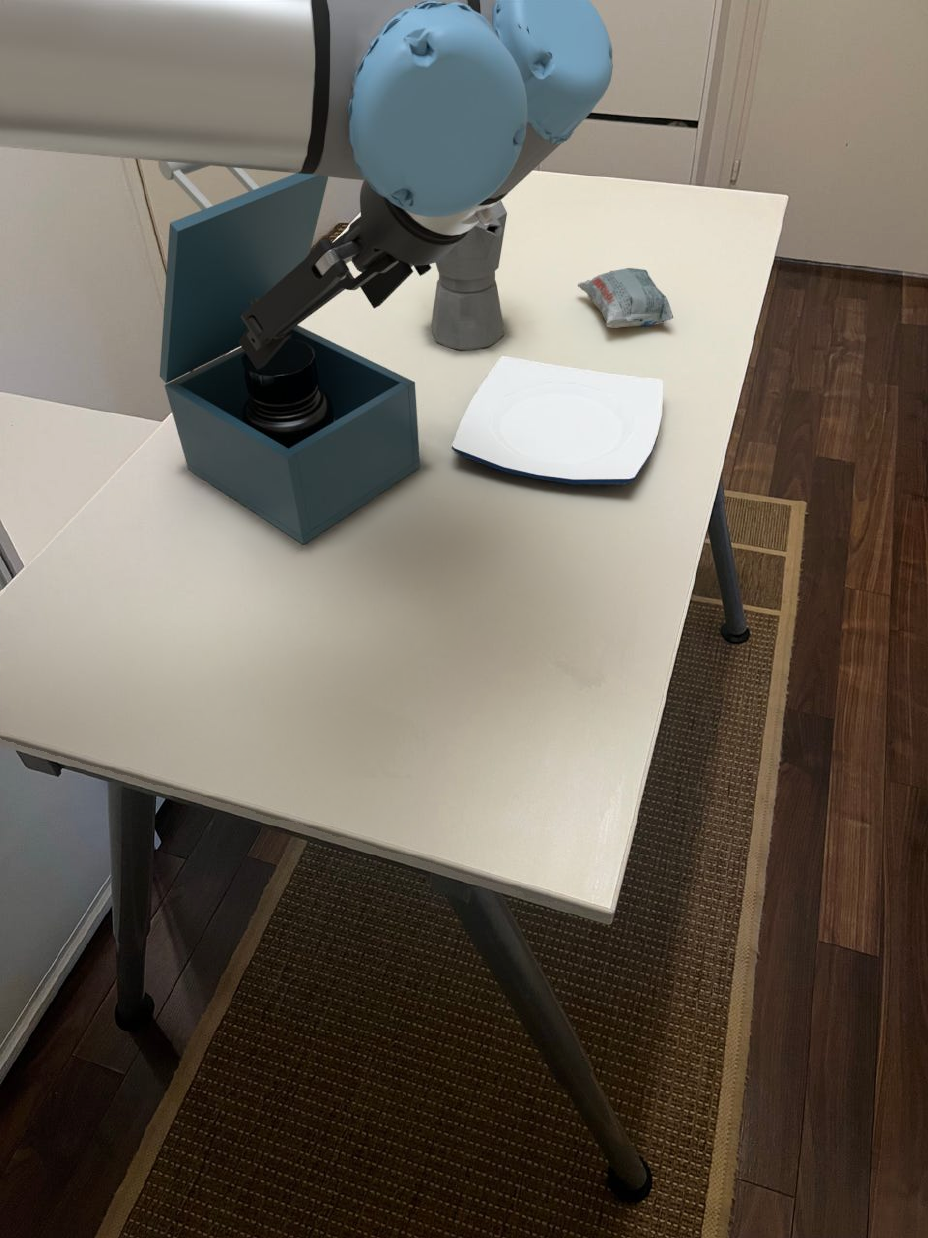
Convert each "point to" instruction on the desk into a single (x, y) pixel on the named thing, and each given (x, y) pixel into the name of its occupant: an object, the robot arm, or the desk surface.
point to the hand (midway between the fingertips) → (312, 322)
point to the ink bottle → (286, 395)
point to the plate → (562, 423)
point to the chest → (317, 466)
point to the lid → (230, 261)
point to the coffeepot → (470, 288)
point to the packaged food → (628, 298)
